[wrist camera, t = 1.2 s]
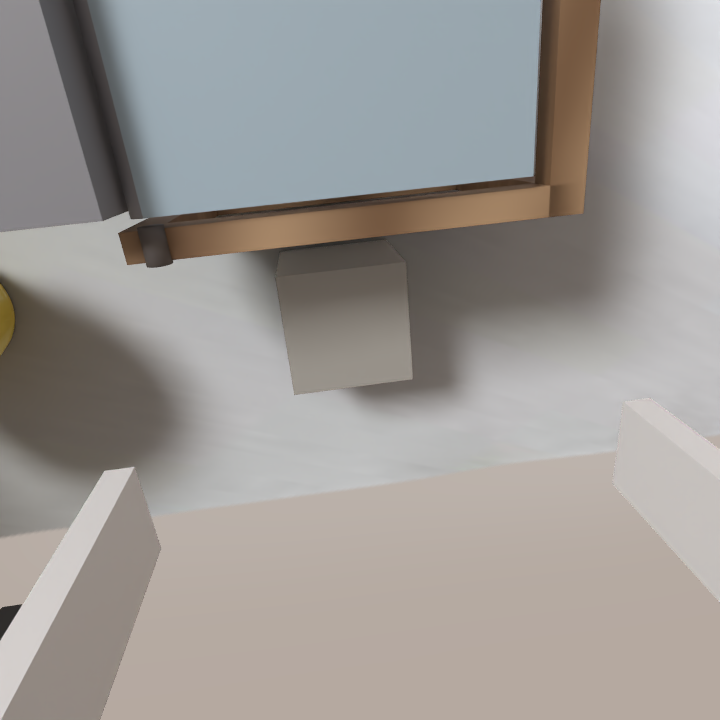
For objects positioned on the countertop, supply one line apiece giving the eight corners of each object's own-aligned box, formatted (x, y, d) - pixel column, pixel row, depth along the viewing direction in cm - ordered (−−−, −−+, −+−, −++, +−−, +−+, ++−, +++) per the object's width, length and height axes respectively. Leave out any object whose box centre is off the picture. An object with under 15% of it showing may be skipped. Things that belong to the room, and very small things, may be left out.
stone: (295, 350, 31) (294, 394, 25) (280, 251, 28) (275, 277, 23) (392, 337, 31) (412, 379, 26) (385, 239, 29) (406, 261, 23)
